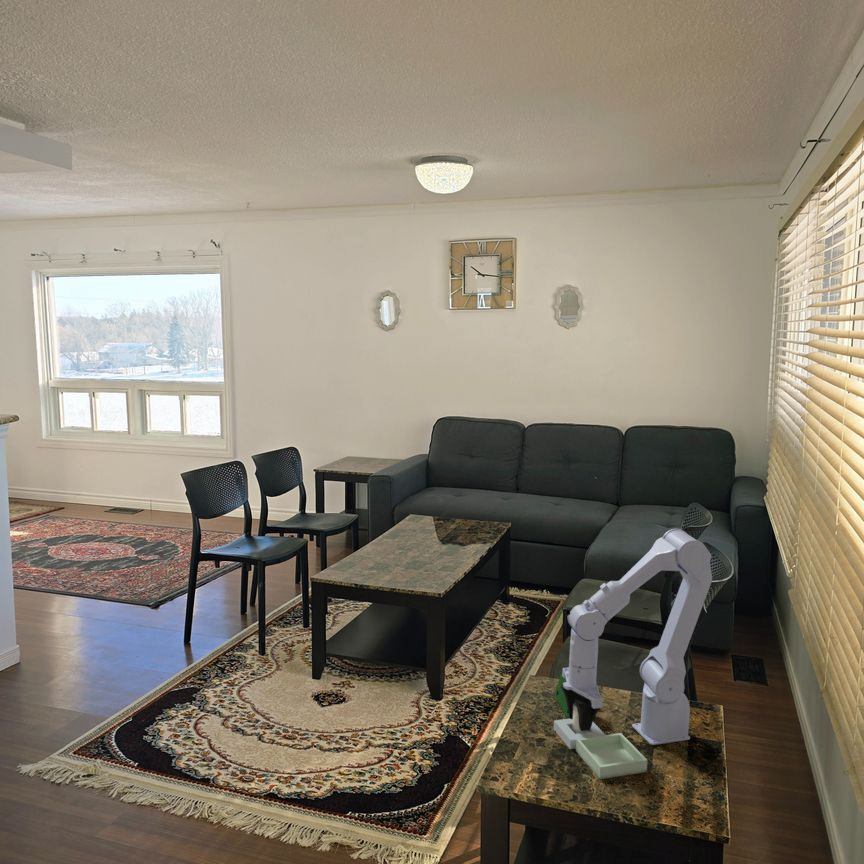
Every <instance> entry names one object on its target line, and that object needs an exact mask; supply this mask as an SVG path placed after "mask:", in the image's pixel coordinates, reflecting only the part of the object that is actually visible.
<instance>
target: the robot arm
mask: <svg viewBox="0 0 864 864" xmlns="http://www.w3.org/2000/svg"><path fill="white" fill-rule="evenodd" d="M711 560H712V554H711V552H710V551H709V549H708V548H707V546H706V545H705V544H704V543H703V542H702V541H699V540H697V539H696V538H694V537H692V536H691V535H690V534H688V533H687V532H686V531H684V530H683V529H681V528H672V529H669V530H668V531H666V532H665V533H664V534H663V536H662V537H659V538H658V539H656V540H655V542H654V543H653V545H652V546H651V548H650V550H649V551H648V552H647V553H646V554H645V555H644V556H643V557H641V559H640V560H638V562H637V563H635V565H633V566H632V567H631V568H630V570H628V571H627V572H626V574H624V575H623V576H622V577H621V578H620V579H619V580H610V581H608V582H607V583H605V582H603V583H602V584H601V585H600V586H599V588H600V589H598V591H596V593H594V594H593V595H592V596H591V597H590V598H588V599H585V600H584V601H583V602H582V603H581V604H578V605H575V606H574V607H573V608H572V609H570V611H569V613H570V614H568V615H567V622H568V624H569V626H570V627H571V630H570V641H569V660H568V667H563V668H562V671H561V674H562V676H563V678H566V682H564V683H563V684H562V685H561V689H562V691H563V693H564V695H565V699H566V702H567V707H568V713H569V717H570V718H569V719H573V704H574V703H575V704H576V706H577V710H578V716H579V728H580V730H581V731H587V730H590V728H591V726H592V723H593V722H594V719H595V717H596V715H597V713H598V711H599V710H600V709H602V708H603V706H604V705H603V704H604V699H603V697H602V696H601V693H600V691H599V686H598V684H597V669H598V654H599V637H601V636H602V634H603V632H604V630H605V625H606V624H607V623H608V622H609V621H610V620H611V619H612V618H613V617H615V615H616V614H618V613H619V612H620V611H622V610H623V609H624V608H625V607H626V606H627V605H629V603H630V599H631V594H632V593H634V592H635V591H636V590H638V589H639V588H640V587H641V586H643V585H644V584H645V583H646V582H648V581H649V580H651V579H652V578H653V577H654V576H656V575H657V574H658V573H660V572H661V571H664V572H666V571H667V572H668V571H670V572H679V573H680V575H681V577H682V581H681V583H680V586H679V588H678V591H677V594H676V597H675V600H674V603H673V604H672V607H671V611H670V614H669V616H668V619H667V621H666V624H665V626H664V627H665V628H664V629H663V632H662V635H661V638H660V641H659V643H658V645H657V646H654V647H653V648H651V649H650V651H649V654H648V656H647V657H646V658H645V659H644V660H643V661H642V662H641V664H640V666H639V675H640V677H641V678H642V680H643V682H644V683H643V687H642V688H643V689H642V699H641V700H642V701H641V713H640V714H641V715H640V722H637V723H632V724H631V726H632V728H633V729H634V730H635V731H636V732H637V733H638V734H639V735H640V736H641V737H642V738H643V739H644V740H645V741H646V742H647V743H648V744H649V745H651V746H657V745H662V744H663V745H664V744H669V743H675V742H683V741H688V740H689V741H690V739H691V736H690V735H689V728H690V713H691V706H690V702H689V699H688V697H687V696H686V694H685V693H684V692H685V677H686V674H687V671H686V664H685V659H684V657H685V654H686V652H687V650H688V646H689V643H690V642H691V641H690V640H691V639H692V635H693V634H694V630H695V628H696V625H697V622H698V620H699V617H700V614H701V611H702V609H703V606H704V603H705V601H706V599H707V598H706V597H707V596H708V594H709V591H710V587H711V584H712V581H713V573H712V568H711V567H712V566H711Z"/></svg>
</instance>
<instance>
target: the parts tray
mask: <svg viewBox="0 0 864 864" xmlns="http://www.w3.org/2000/svg"><path fill="white" fill-rule="evenodd" d="M575 752H576V753H577V754H578V755H579V756H580V757H581V759H582V760H583V761H584V763H585V764H586V765H587V766H588V767H589V769H590V770H591V771H592V772H593V773H594V774H595V776H596V777H597V778H598V780H603V779H610V778H615V777H617V778H618V777H623V776H628V775H629V776H630V775H635V774H636V775H637V774H642V773H647V772H648V758H646V757H645V756H644V755H643V753H641V752H640V751H639V750H638V749H637V747H636V746H634V745H633V744H632V742H630V740H628V738H626V737H625V736H624V735H623V733H621V732H618V733H612V734H605V735H603V736H596V737H589V738H581V739H576V749H575Z"/></svg>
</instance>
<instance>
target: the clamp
mask: <svg viewBox="0 0 864 864" xmlns="http://www.w3.org/2000/svg"><path fill="white" fill-rule="evenodd" d="M564 682H566V678H563V676H562V673H560V676H559V678H558V682H557V685H556V688H555V693H554V697H555V700H556V702H557V703H558V705H559V707H560V708H561V710H562V712H563V714H564V715H565V717H566V719H570V717H569V713H568V707H567V702H566V699H565V695H564V693H563V691H562V689H561V685H562V684H563V683H564Z"/></svg>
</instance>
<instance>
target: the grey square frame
mask: <svg viewBox="0 0 864 864" xmlns="http://www.w3.org/2000/svg"><path fill="white" fill-rule="evenodd" d="M572 723H573V719H570V718H563V719H555V720H553V731H554V732H555V731H556V732H555V733H556V734H557V735H558V737H559V738H560V739H561V740H562V741H563V743H564V744H565V745H566V746H567V747H568V749H569V750H573V749H574V750H576V739H581V738H589V737H596V736H603V735H606V734H605V733H604V732H603V731H602V729H600V727H598V725H596V723H595V722H594V721H593V723H592V726H591V728H590V730H587V732H585V733H578V734H575V733H574V732H573V731H572Z"/></svg>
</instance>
